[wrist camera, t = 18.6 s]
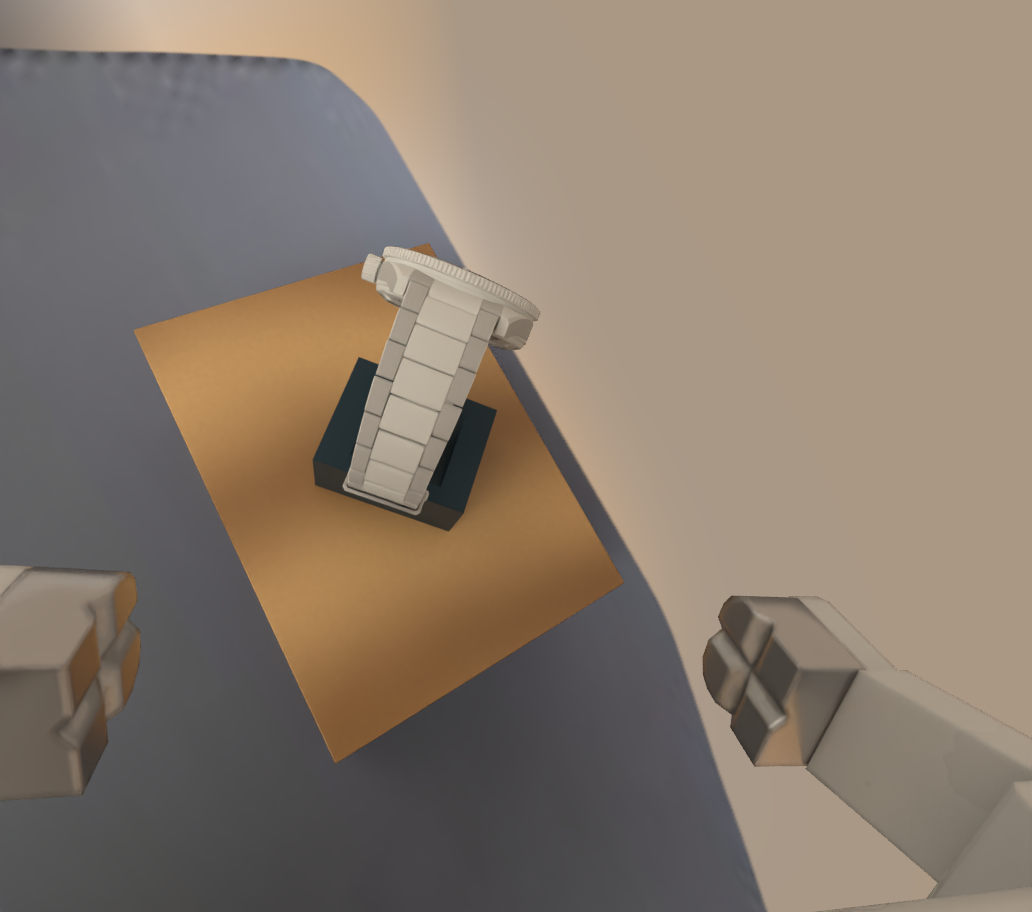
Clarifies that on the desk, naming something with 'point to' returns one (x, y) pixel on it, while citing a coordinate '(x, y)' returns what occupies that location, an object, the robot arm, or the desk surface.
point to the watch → (421, 390)
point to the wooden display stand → (367, 510)
